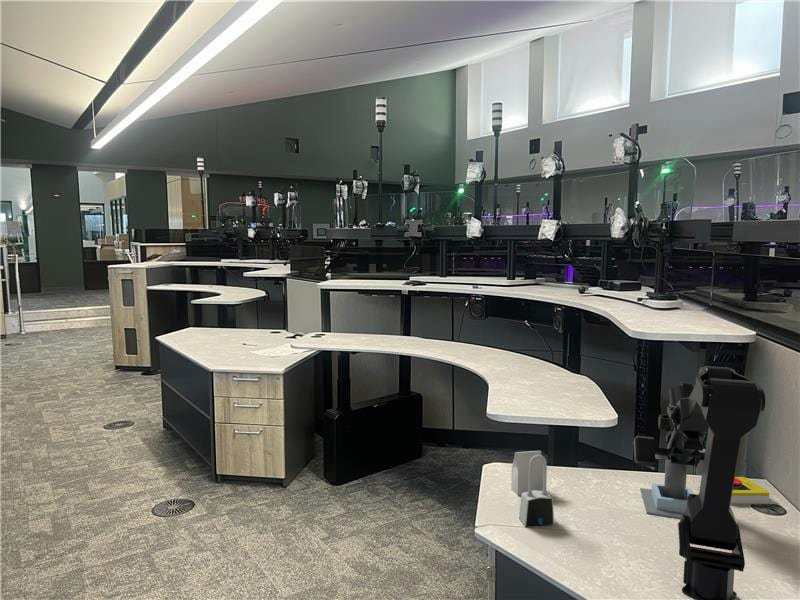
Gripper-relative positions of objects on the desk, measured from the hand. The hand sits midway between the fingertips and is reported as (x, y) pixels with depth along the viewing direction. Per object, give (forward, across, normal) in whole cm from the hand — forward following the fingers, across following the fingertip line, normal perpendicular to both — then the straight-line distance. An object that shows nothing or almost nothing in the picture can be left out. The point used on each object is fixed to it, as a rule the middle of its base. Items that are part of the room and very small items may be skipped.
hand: (674, 470), depth 121 cm
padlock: (-8, +30, +20) cm, 37 cm away
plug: (+4, 0, +6) cm, 8 cm away
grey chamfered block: (+2, +33, +10) cm, 35 cm away
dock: (+5, 0, +7) cm, 8 cm away
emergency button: (+13, -15, -1) cm, 20 cm away
